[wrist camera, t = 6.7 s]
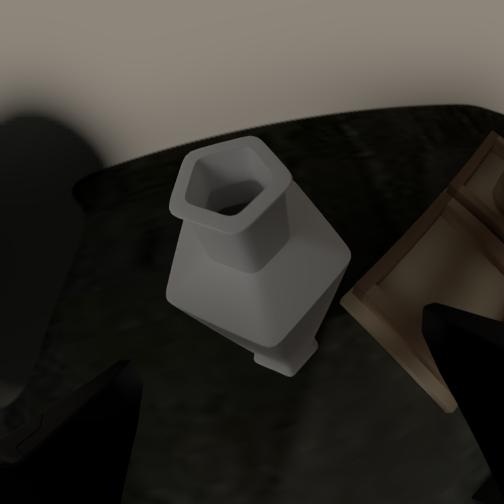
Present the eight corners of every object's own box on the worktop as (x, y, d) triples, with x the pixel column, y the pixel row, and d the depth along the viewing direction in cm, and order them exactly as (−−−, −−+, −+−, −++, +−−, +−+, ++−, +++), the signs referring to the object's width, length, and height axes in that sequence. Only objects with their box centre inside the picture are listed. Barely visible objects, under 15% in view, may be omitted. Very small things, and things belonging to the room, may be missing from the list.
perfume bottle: (334, 321, 19) (386, 122, 6) (306, 388, 17) (311, 339, 4) (266, 295, 20) (191, 88, 7) (235, 358, 19) (77, 235, 6)
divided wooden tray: (557, 215, 19) (570, 199, 16) (446, 412, 15) (463, 412, 13) (482, 146, 23) (491, 128, 21) (339, 303, 19) (344, 289, 17)
